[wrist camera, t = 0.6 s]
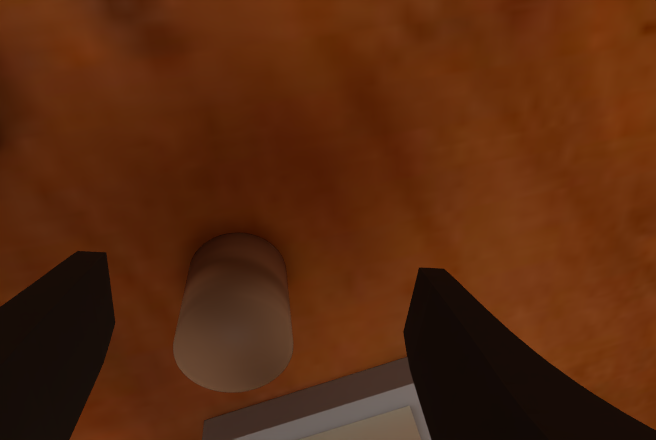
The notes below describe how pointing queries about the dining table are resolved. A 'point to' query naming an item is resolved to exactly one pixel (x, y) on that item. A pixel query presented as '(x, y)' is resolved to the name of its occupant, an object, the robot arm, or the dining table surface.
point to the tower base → (324, 407)
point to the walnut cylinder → (234, 315)
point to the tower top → (376, 428)
